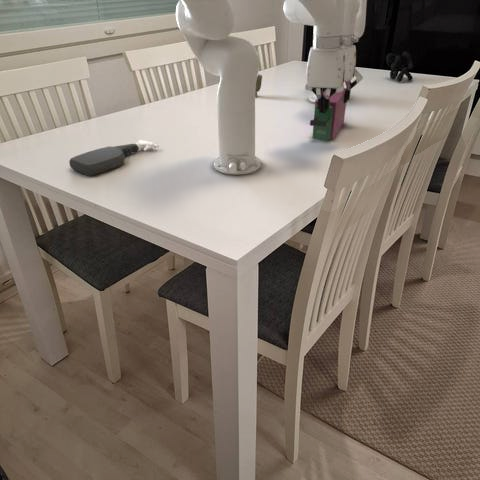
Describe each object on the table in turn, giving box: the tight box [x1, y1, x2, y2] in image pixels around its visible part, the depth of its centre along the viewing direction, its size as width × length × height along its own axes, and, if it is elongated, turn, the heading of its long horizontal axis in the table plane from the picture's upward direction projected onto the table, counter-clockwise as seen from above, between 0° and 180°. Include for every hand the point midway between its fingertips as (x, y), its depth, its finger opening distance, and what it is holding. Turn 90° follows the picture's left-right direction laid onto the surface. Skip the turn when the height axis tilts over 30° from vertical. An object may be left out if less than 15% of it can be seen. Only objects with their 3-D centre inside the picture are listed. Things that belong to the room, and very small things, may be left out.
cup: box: [255, 73, 263, 97], centre depth 179 cm, size 8×7×8 cm
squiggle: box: [385, 51, 414, 83], centre depth 198 cm, size 11×10×15 cm
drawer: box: [309, 104, 334, 141], centre depth 136 cm, size 22×5×10 cm, turn 158°
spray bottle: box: [68, 139, 160, 177], centre depth 124 cm, size 3×11×24 cm
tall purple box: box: [312, 87, 347, 141], centre depth 140 cm, size 18×6×11 cm, turn 158°
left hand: (323, 111), depth 127 cm, fingers closed
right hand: (334, 100), depth 143 cm, fingers closed on tall purple box, 6 cm apart
